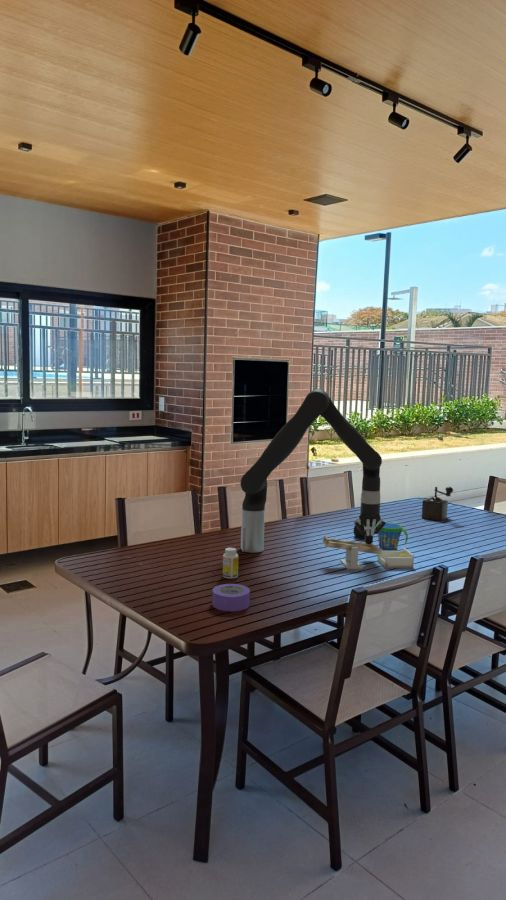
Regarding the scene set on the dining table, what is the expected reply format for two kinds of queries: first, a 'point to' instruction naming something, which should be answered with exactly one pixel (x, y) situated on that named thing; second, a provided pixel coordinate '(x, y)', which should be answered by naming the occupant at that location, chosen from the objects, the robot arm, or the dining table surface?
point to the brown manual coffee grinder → (436, 506)
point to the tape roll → (231, 597)
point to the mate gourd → (357, 532)
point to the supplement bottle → (230, 563)
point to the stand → (351, 559)
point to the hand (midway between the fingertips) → (368, 544)
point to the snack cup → (390, 536)
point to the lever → (351, 545)
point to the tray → (396, 559)
